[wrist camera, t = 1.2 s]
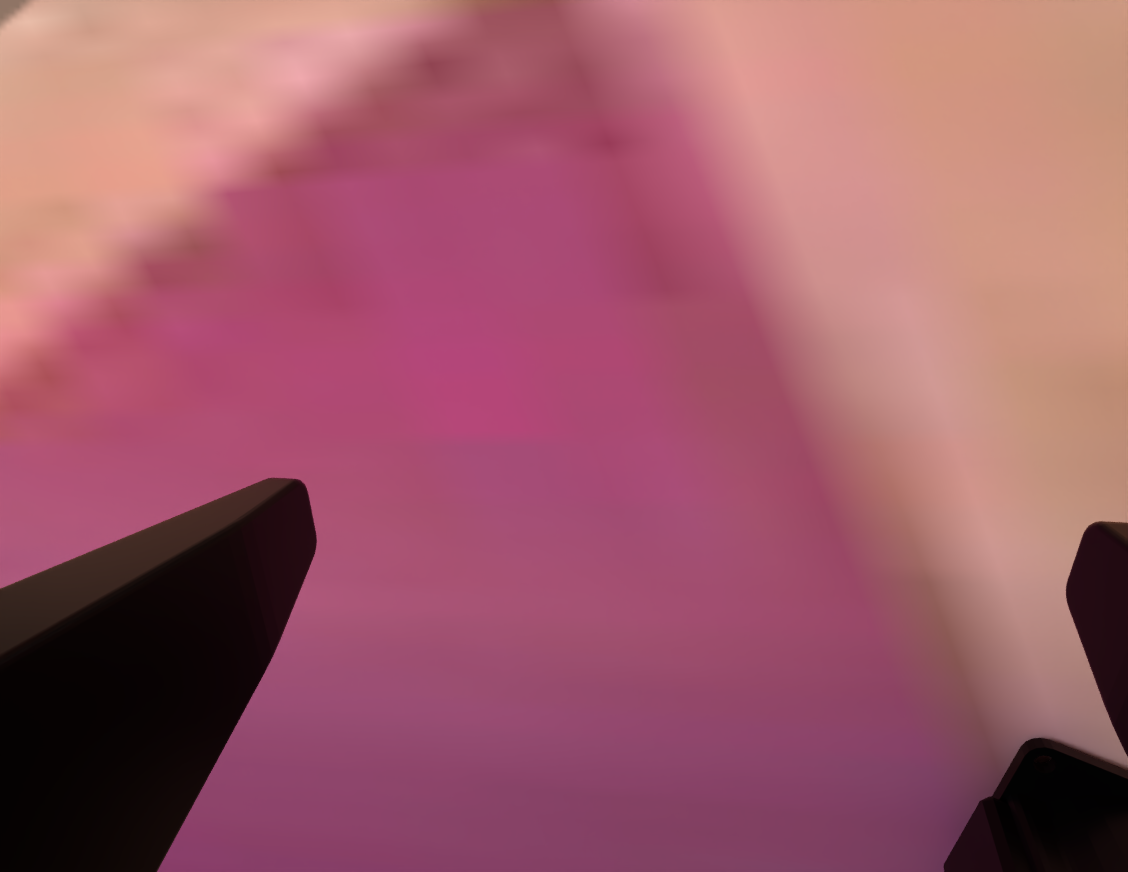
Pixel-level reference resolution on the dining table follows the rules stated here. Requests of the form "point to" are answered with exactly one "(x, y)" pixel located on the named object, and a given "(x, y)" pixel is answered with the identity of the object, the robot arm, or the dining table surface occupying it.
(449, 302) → the dining table surface
